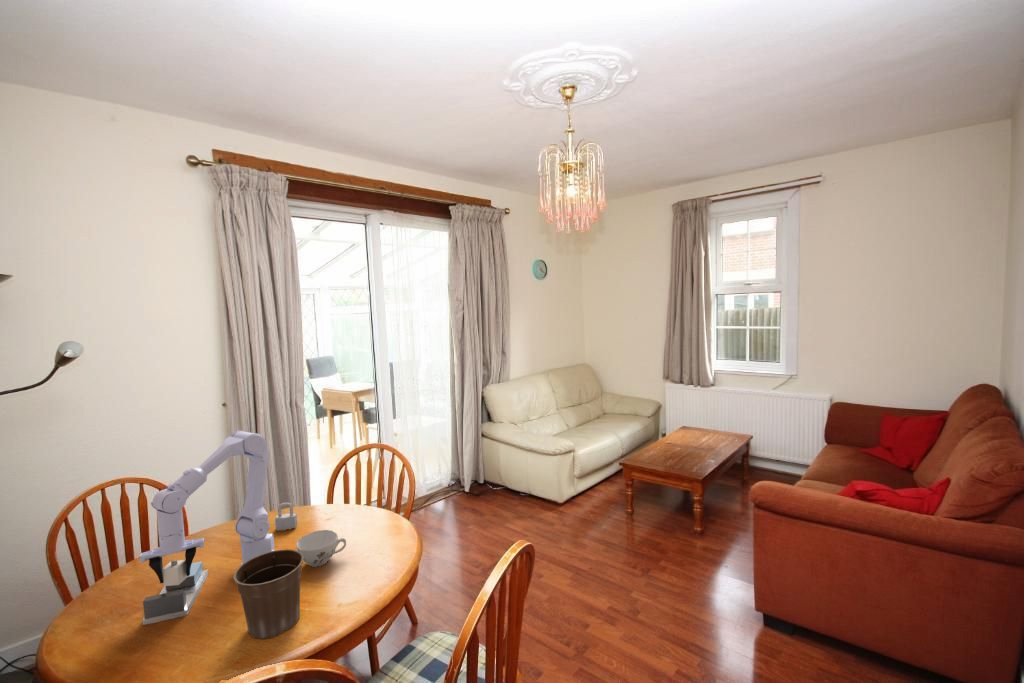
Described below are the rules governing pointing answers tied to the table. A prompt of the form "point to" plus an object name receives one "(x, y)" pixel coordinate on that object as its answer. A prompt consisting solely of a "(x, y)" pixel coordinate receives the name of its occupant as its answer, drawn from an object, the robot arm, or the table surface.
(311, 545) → the teacup
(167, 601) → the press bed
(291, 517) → the padlock
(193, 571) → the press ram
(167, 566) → the block
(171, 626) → the table surface
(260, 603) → the plant pot
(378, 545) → the table surface
